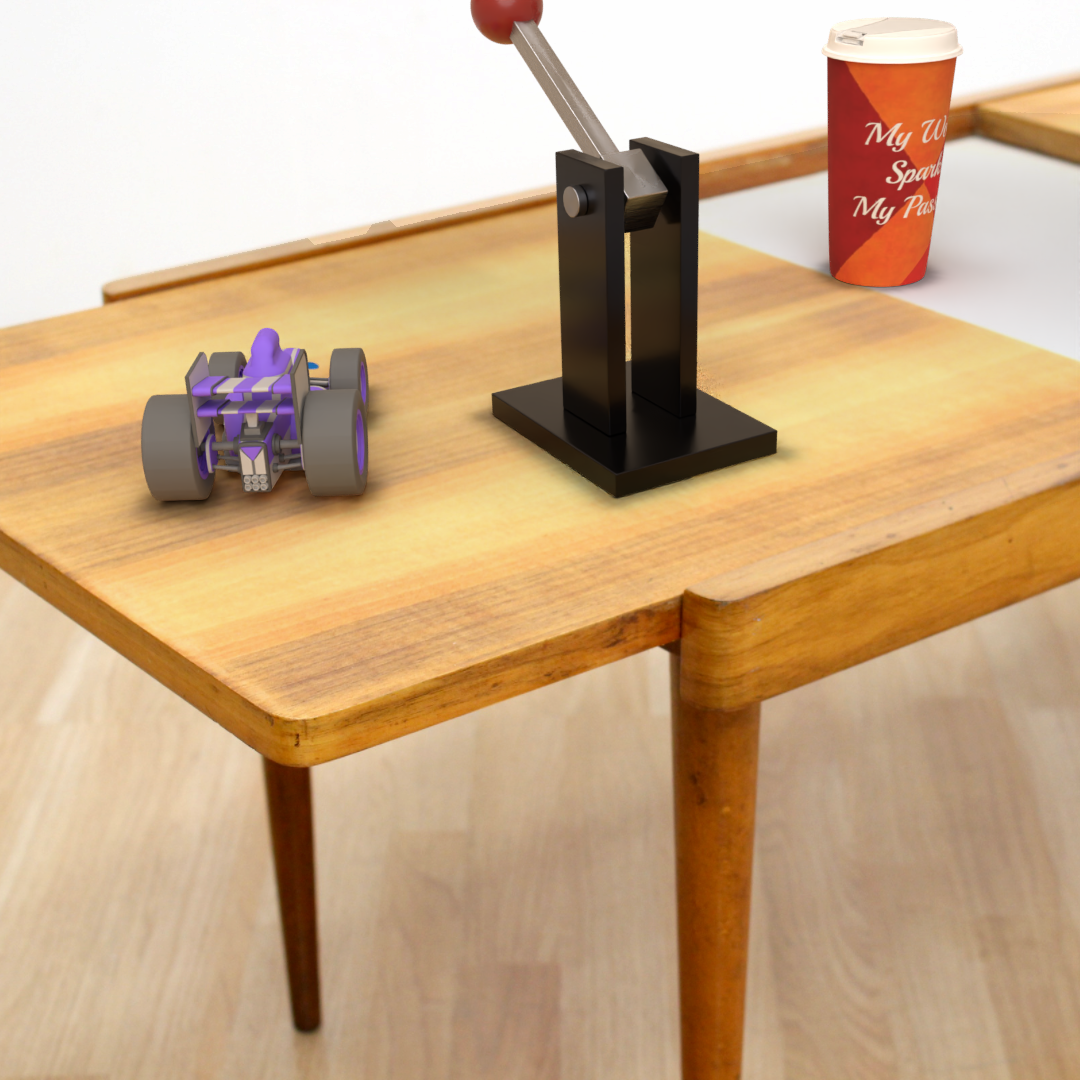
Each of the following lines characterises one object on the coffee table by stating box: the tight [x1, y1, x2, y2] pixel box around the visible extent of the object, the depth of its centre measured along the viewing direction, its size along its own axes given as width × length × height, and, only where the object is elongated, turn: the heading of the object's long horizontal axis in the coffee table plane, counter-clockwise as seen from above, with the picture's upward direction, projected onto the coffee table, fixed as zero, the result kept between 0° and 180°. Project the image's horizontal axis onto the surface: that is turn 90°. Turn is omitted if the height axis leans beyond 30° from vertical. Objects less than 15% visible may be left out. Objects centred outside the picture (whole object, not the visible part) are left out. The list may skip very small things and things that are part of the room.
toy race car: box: [140, 327, 370, 502], centre depth 75 cm, size 10×15×6 cm, turn 179°
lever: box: [469, 0, 668, 234], centre depth 74 cm, size 16×4×4 cm
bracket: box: [490, 136, 778, 499], centre depth 73 cm, size 12×9×14 cm
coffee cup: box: [821, 16, 964, 288], centre depth 95 cm, size 8×8×15 cm
